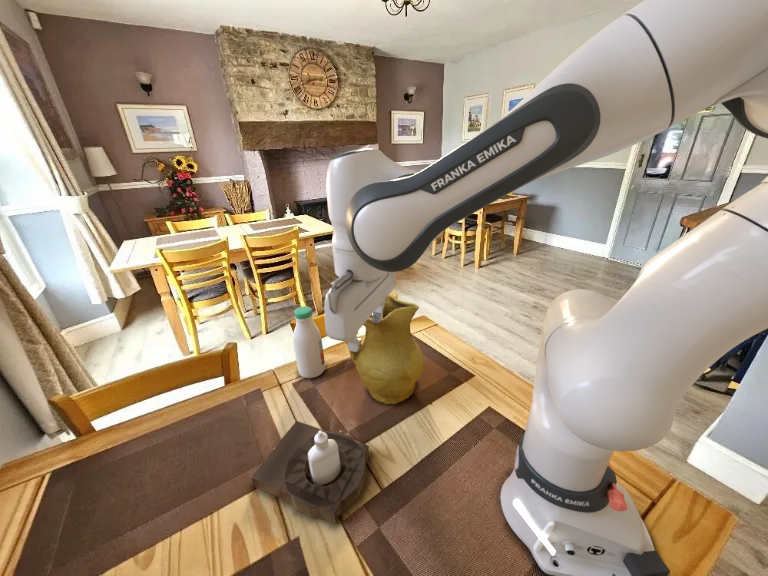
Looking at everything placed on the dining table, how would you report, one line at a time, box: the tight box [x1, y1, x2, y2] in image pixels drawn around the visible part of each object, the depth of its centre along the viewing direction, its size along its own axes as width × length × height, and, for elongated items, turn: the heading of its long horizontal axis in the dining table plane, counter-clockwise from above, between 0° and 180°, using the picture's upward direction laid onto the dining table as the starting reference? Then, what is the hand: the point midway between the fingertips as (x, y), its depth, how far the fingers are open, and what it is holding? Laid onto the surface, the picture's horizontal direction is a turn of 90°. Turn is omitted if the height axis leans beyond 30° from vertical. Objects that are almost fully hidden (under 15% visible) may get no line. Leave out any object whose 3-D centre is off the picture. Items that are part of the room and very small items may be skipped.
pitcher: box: [345, 294, 425, 405], centre depth 79 cm, size 17×19×25 cm
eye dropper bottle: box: [308, 430, 342, 486], centre depth 59 cm, size 4×6×12 cm
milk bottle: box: [292, 305, 326, 379], centre depth 86 cm, size 8×8×20 cm
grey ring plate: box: [250, 420, 370, 525], centre depth 61 cm, size 20×15×3 cm
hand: (367, 334), depth 55 cm, fingers open, 8 cm apart
